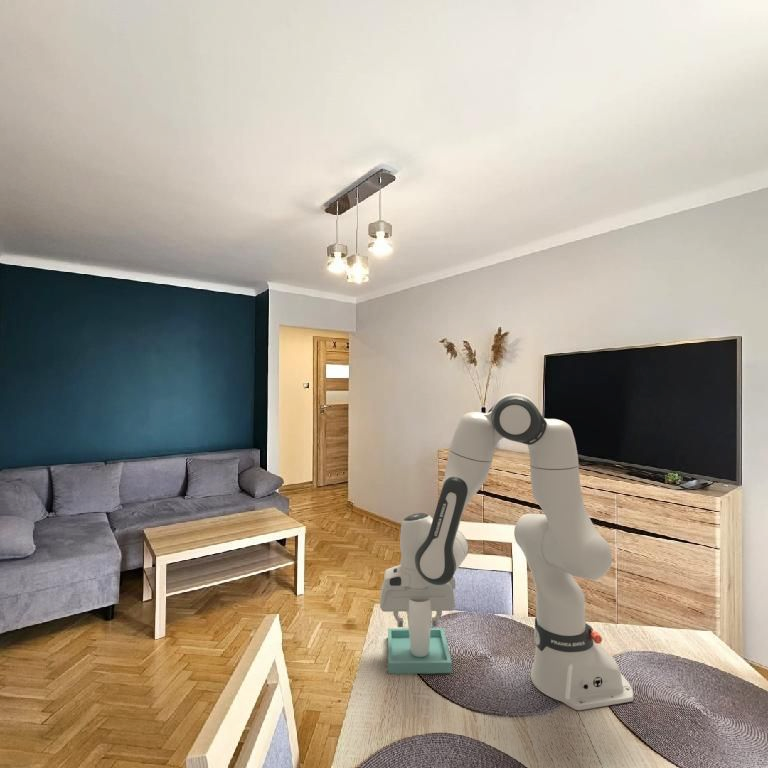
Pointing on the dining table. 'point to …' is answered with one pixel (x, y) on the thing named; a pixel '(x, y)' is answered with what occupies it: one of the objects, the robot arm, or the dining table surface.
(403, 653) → the tray
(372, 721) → the dining table surface
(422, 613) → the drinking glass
